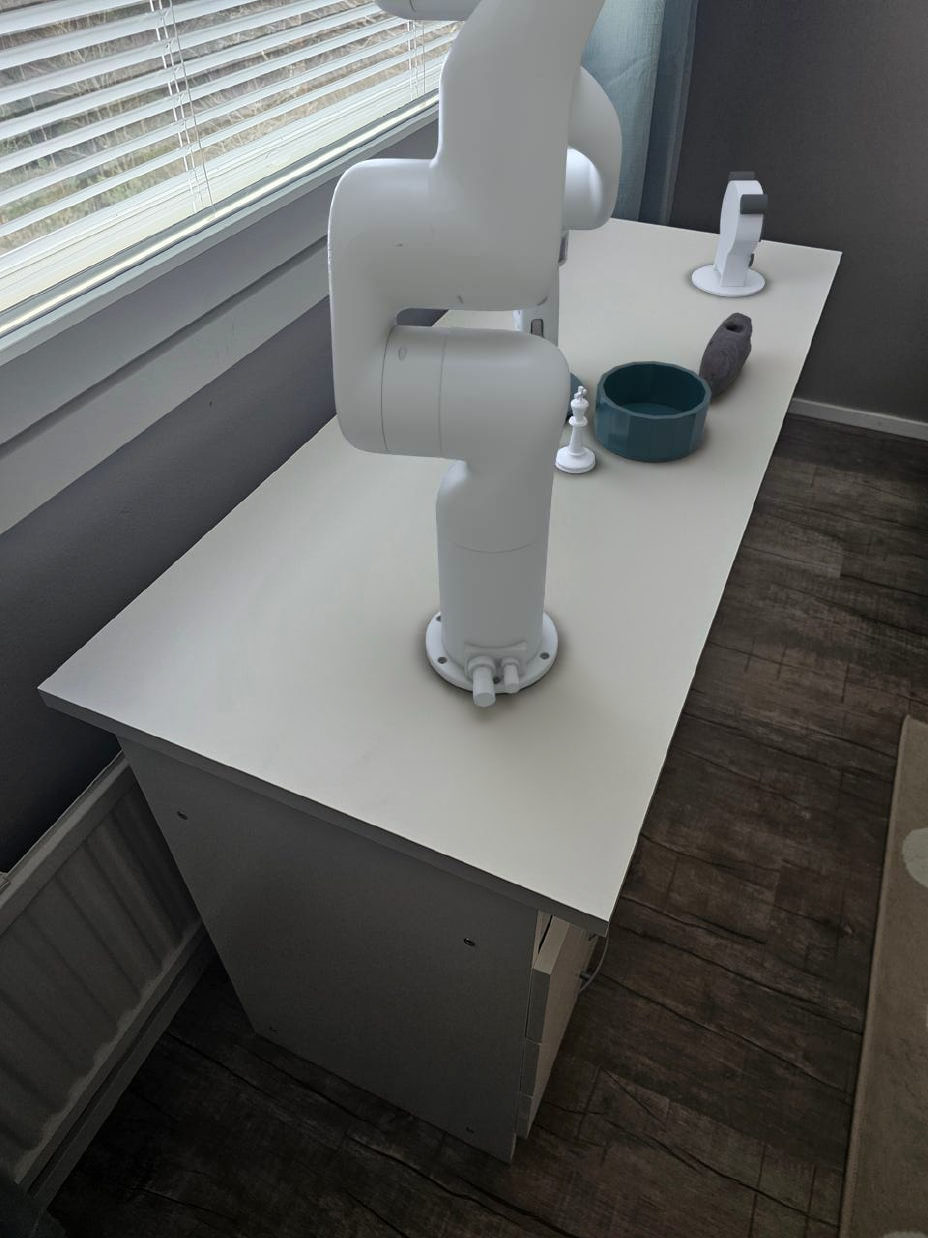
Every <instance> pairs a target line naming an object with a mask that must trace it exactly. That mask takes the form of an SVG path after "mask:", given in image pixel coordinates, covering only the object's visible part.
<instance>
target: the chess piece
mask: <svg viewBox="0 0 928 1238" xmlns="http://www.w3.org/2000/svg"><path fill="white" fill-rule="evenodd" d="M587 391H588V390H587V389H585V386H584V387H582V386H580V387H578V393H576V394H575V395H574V398H575V399H574V400H572V401H571V407H572V410H573V413H572V414H573V415H572V416H571V417H570V418H569V420H568V423H569V425H570V426H572V431H571V436H570V441H569V444H568V445H567V446H563V447H561V448H558V453H557V458H556V463H555V467H556V468H558V469H559V470H560V471H562V472H564V473H569V474H584V473H587V472H590V471H591V470H592V469H593V468H594V467H595V465H596V456H595V453H593V451H592V450H590V448H587V447H584V445H583V444H584V443H583V427H585V426H586V425H588V419H587V418H586V416H585V414H586V411H587V409H588V407H589V401H588V400H586V399H585V398H584V399H583V395H585V396H586V395H587Z"/></svg>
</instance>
